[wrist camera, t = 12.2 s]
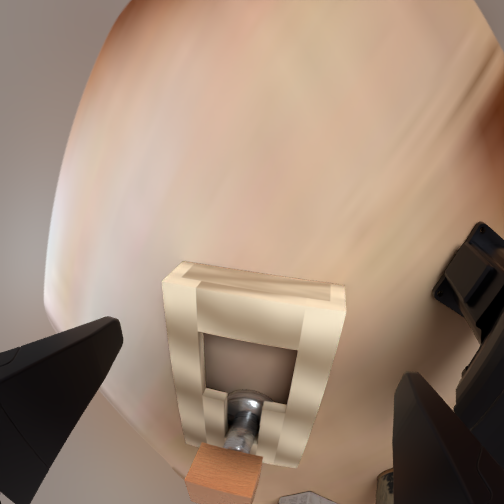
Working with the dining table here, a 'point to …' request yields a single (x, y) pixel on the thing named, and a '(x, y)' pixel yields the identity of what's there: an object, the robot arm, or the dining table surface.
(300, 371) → the keyhole box
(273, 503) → the dining table surface
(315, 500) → the coffee box
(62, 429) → the robot arm
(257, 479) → the wooden block metal peg
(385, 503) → the mug
